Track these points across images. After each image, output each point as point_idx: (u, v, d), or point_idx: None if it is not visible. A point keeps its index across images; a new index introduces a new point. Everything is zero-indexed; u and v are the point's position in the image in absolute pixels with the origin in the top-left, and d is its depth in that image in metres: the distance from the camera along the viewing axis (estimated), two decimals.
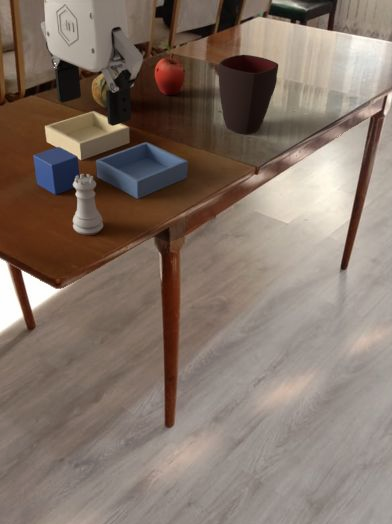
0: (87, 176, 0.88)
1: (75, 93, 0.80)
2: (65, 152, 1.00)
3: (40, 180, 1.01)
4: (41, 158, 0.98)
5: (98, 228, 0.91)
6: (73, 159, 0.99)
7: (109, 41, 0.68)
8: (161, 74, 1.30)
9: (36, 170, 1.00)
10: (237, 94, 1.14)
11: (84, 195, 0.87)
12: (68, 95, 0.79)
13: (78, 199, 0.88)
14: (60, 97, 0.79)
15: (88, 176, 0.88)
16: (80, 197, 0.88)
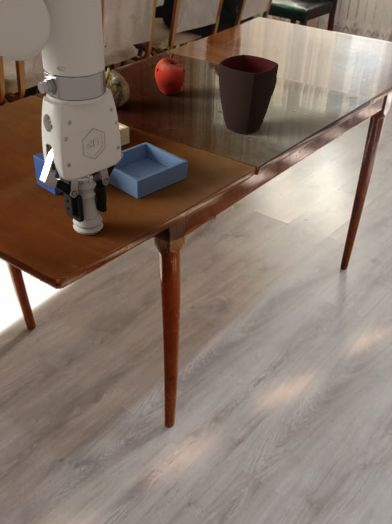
0: (87, 176, 0.88)
1: None
2: None
3: None
4: (41, 158, 0.98)
5: (98, 228, 0.91)
6: None
7: None
8: (161, 74, 1.30)
9: (36, 170, 1.00)
10: (237, 94, 1.14)
11: (84, 195, 0.87)
12: None
13: None
14: (83, 217, 0.88)
15: (88, 176, 0.88)
16: None
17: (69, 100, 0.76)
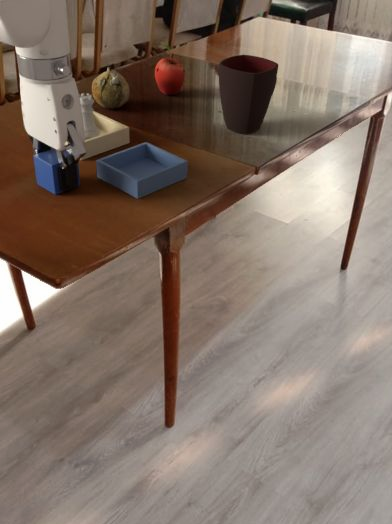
0: (87, 95, 1.10)
1: None
2: (65, 152, 1.00)
3: (40, 180, 1.01)
4: (41, 159, 0.98)
5: None
6: None
7: None
8: (161, 74, 1.30)
9: (36, 170, 1.00)
10: (237, 94, 1.14)
11: (85, 109, 1.10)
12: None
13: None
14: (75, 181, 1.01)
15: (88, 95, 1.10)
16: (82, 111, 1.10)
17: (71, 73, 0.90)
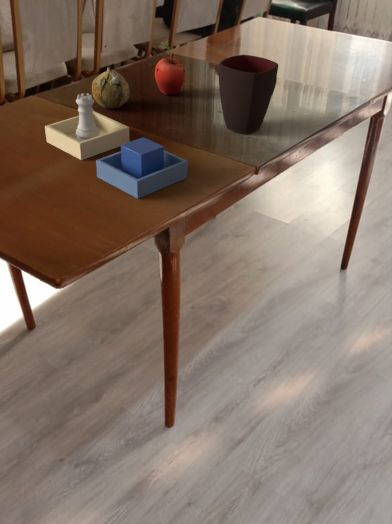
0: (87, 95, 1.10)
1: None
2: (150, 142, 1.03)
3: (125, 170, 1.04)
4: (129, 148, 1.01)
5: None
6: (160, 149, 1.01)
7: None
8: (161, 74, 1.30)
9: (122, 160, 1.03)
10: (237, 94, 1.14)
11: (85, 109, 1.10)
12: None
13: (80, 114, 1.11)
14: None
15: (88, 95, 1.10)
16: (82, 111, 1.10)
17: None
